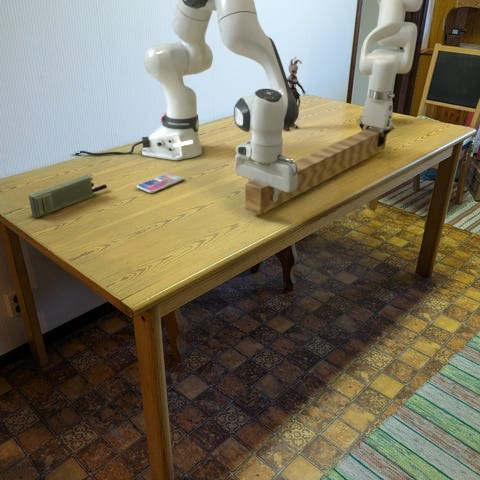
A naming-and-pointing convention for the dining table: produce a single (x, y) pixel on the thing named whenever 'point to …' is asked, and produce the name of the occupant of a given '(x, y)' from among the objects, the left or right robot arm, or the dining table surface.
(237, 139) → the dining table surface
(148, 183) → the smartphone
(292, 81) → the figurine
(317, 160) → the block
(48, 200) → the handheld radio
